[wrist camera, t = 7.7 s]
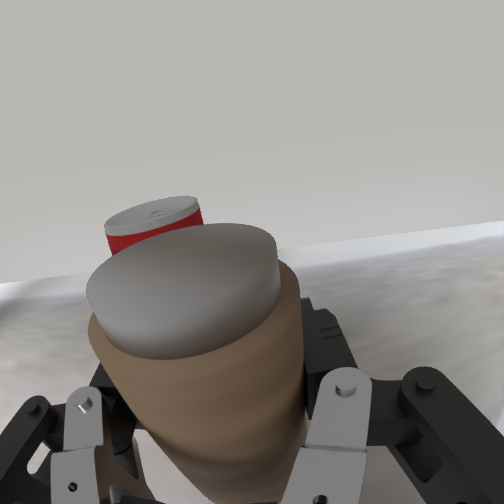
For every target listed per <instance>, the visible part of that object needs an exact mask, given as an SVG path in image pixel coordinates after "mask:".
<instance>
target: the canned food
mask: <svg viewBox="0 0 504 504" xmlns="http://www.w3.org/2000/svg"><path fill="white" fill-rule="evenodd" d="M197 225H204V224H203V219H202V216H201V211H200V207H199V204H198V201H197V198H195V197H191V196H177V197H170V198H164V199H159V200H156V201H151V202H148V203H144V204H141V205H138V206H135V207H132V208H130V209H127V210H125V211H122V212H120V213H118V214H116V215H114V216H113V217H111V218H110V219H108V220H107V221H106V223H105V224H104V227H105V233H106V236H107V239H108V243H109V247H110V249H111V252H112V255H115V254H117V253H118V252H120V251H122V250H123V249H125V248H127V247H129V246H131V245H133V244H135V243H138V242H140V241H142V240H145V239H147V238H150V237H153V236H156V235H159V234H162V233H165V232H169V231H173V230H177V229H181V228H186V227H191V226H197Z"/></svg>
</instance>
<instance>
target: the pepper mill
mask: <svg viewBox="0 0 504 504" xmlns="http://www.w3.org/2000/svg"><path fill="white" fill-rule="evenodd" d="M86 293H87V297H88V300H89V302H90V304H91V306H92V309H93V311H94V312H93V314H92V316H91V318H90V322H89V326H88V336H89V341H90V343H91V346H92V348H93V350H94V351H95V353H96V355H97V357H98V359H99V360H100V362H101V364H102V365H103V367H104V369H105V370H106V372H107V374H108V375H109V377H110V379H111V380H112V382H113V383H114V385H115V386H116V388H117V390H118V391H119V393H120V394H121V396H122V397H123V399H124V400H125V402H126V403H127V404H128V406H129V407H130V409H131V410H132V412H133V413H134V414H135V416H136V417H137V418H138V420H139V421H140V423H141V424H142V425H143V427H144V428H145V429H146V430H147V432H148V433H149V434H150V436H151V437H152V438H153V439H154V441H155V442H156V443H157V444H158V446H159V447H160V448H161V449H162V450H163V452H164V453H165V454H166V455H167V456H168V457H169V459H170V460H171V461H172V462H173V463H174V464H175V465H176V467H177V468H178V469H179V470H180V471H181V472H182V473H183V474H184V475H185V476H186V477H187V478H188V479H189V481H190V482H191V483H192V484H193V485H194V486H195V487H196V488H197V489H198V490H199V491H200V492H201V493H202V494H203V495H204V496H205V497H207V498H208V499H209V500H210V501H212V502H213V503H215V504H250V503H264V502H275V501H277V503H278V504H279V503H281V501H282V498H283V495H284V493H285V490H286V487H287V484H288V481H289V478H290V476H291V473H292V470H293V467H294V464H295V461H296V458H297V455H298V452H299V450H300V447H301V446H302V445H304V443H305V440H306V437H307V423H306V399H305V375H304V348H303V331H302V316H301V302H300V289H299V283H298V279H297V277H296V275H295V273H294V272H293V271H292V270H291V268H290V267H288V266H287V265H286V264H285V263H283V262H282V261H280V260H278V256H277V248H276V242H275V240H274V238H273V237H272V236H271V234H269V233H268V232H266V231H264V230H262V229H260V228H257V227H254V226H250V225H244V224H233V223H217V224H205V225H197V226H191V227H186V228H181V229H177V230H173V231H169V232H165V233H162V234H159V235H156V236H153V237H150V238H147V239H145V240H142V241H140V242H138V243H135V244H133V245H131V246H129V247H127V248H125V249H123V250H122V251H120V252H118V253H117V254H115V255H113V256H112V257H111V258H109V259H108V260H106V261H105V262H104V263H103V264H101V265H100V266H99V268H97V269H96V271H95V272H94V273H93V274H92V276H91V277H90V279H89V281H88V283H87V287H86Z"/></svg>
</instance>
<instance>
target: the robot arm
mask: <svg viewBox="0 0 504 504" xmlns="http://www.w3.org/2000/svg"><path fill="white" fill-rule="evenodd" d="M300 302H301V316H302V331H303V348H304V375H305V399H306V410H307V414H308V419H309V420H311V423H310V427H309V430H308V434H307V437H306V440H305V443H304V445H302V446H301V447H300V450H299V452H298V455H297V458H296V461H295V464H294V467H293V470H292V473H291V476H290V478H289V481H288V484H287V487H286V490H285V493H284V495H283V498H282V501H281V503H280V504H358V502H359V498H360V493H361V488H362V483H363V477H364V471H365V465H366V458H367V451H366V446H387V447H388V449H389V450H390V452H391V453H392V455H393V456H394V458H395V459H396V460H397V462H398V463H399V465H400V466H401V468H402V469H403V471H404V472H405V473H406V475H407V476H408V478H409V479H410V481H411V482H412V484H413V485H414V486H415V488H416V489H417V491H418V492H419V494H420V495H421V497H422V498H423V499H424V501H425V502H426V504H504V436H503V435H502V434H501V433H500V432H499V431H498V430H497V429H496V428H495V427H494V426H493V425H492V423H491V422H490V421H489V420H488V419H487V418H486V417H485V416H484V415H483V414H482V413H481V412H480V411H479V410H478V409H477V408H476V407H475V406H474V405H473V404H472V403H471V402H470V401H469V400H468V398H467V397H466V396H465V395H464V394H463V393H462V392H461V391H460V390H459V389H458V388H457V387H456V386H455V385H454V384H453V383H452V382H451V381H450V380H449V379H448V378H447V377H446V376H445V375H444V374H443V373H441V372H440V371H439V370H437V369H434V368H431V367H417V368H414V369H412V370H410V371H409V372H407V373H406V374H405V376H404V377H403V379H402V380H396V381H382V380H375V379H372V378H370V377H369V376H368V375H367V374H366V373H365V372H363V371H361V370H359V369H358V367H357V365H356V363H355V360H354V358H353V356H352V353H351V351H350V349H349V346H348V344H347V342H346V340H345V337H344V336H343V333H342V331H341V328H340V327H339V324H338V322H337V319H336V317H335V316H334V315H333V314H332V313H330V312H329V311H328V310H327V309H320V310H315V311H314V309H313V307H312V304H311V301H310V299H309V297H308V298H302V299H300ZM135 429H144V430H146V429H145V428H144V427H143V425H142V424H141V423H140V421H139V420H138V418H137V417H136V416H135V414H134V413H133V412H132V410H131V409H130V407H129V406H128V404H127V403H126V402H125V400H124V399H123V397H122V396H121V394H120V393H119V391H118V390H117V388H116V386H115V385H114V383H113V382H112V380H111V379H110V377H109V375H108V374H107V372H106V370H105V369H104V367H103V365H102V364H101V362H100V364H99V366H98V368H97V370H96V372H95V374H94V376H93V378H92V380H91V382H90V385H89V386H86V387H82V388H79V389H77V390H76V391H74V392H73V393H72V394H71V395H70V396H69V398H68V400H67V402H66V403H64V404H59V405H53V406H52V405H51V404H50V403H49V402H48V400H47V399H46V398H45V397H43V396H33V397H31V398H29V399H28V400H27V401H26V402H25V403H24V404H23V405H22V407H21V408H20V409H19V410H18V412H17V413H16V414H15V416H14V417H13V418H12V420H11V421H10V422H9V424H8V425H7V426H6V428H5V429H4V430H3V432H2V433H1V435H0V504H165V503H162V502H159V501H156V500H155V498H154V496H153V494H152V492H151V491H150V489H149V488H148V486H147V484H146V481H145V477H144V473H143V469H142V464H141V459H140V455H139V449H138V444H137V440H136V438H135V437H134V436H133V434H134V430H135ZM41 442H43V443H44V444H45V445H46V446H47V447H48V448H49V449H50V451H49V453H48V455H47V456H46V458H45V459H44V461H43V463H42V464H41V466H40V467H39V469H38V471H37V472H36V473H35V474H29V473H28V471H27V464H28V462H29V460H30V459H31V457H32V456H33V454H34V453H35V451H36V450H37V448H38V447H39V445H40V444H41ZM250 504H278V503H277V501H275V502H264V503H250Z"/></svg>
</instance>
